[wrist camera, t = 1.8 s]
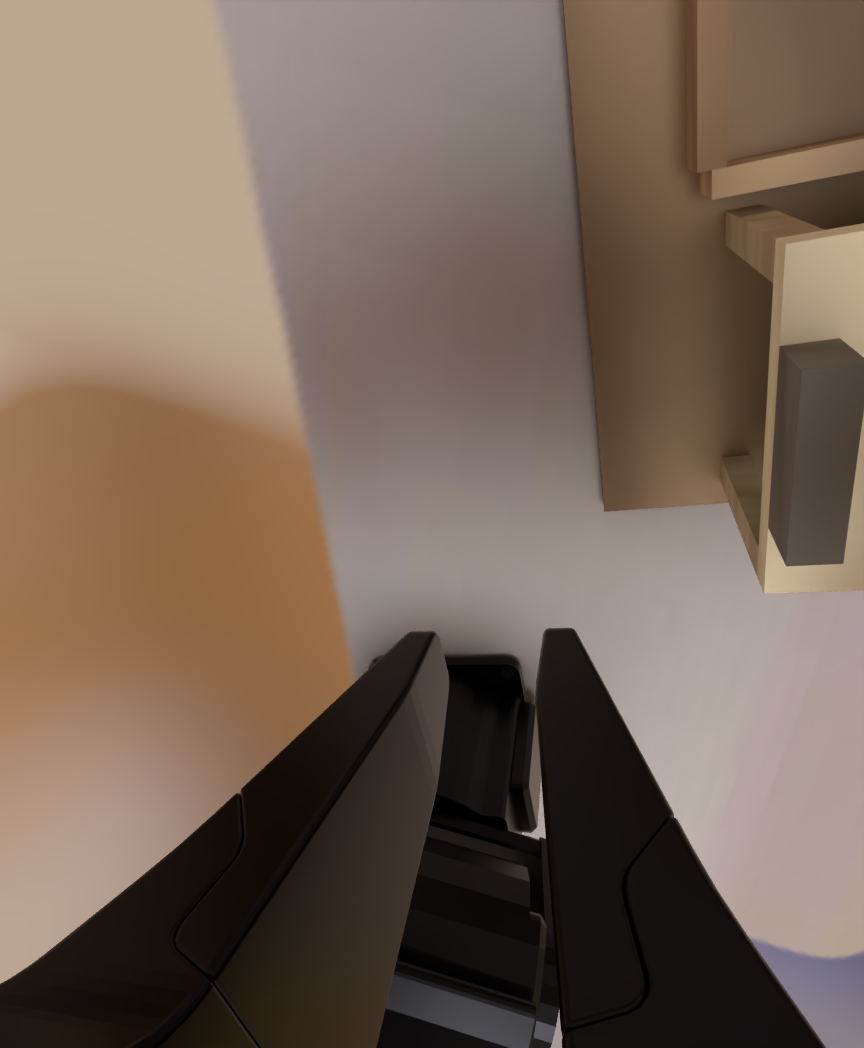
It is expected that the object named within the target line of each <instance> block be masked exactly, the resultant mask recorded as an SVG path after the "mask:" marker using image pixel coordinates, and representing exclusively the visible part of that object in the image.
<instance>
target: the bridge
mask: <svg viewBox="0 0 864 1048" xmlns="http://www.w3.org/2000/svg"><path fill="white" fill-rule="evenodd" d="M725 245H726V246H727V247H728V248H730V249H731V250H732V251H733V252H735V253H736V254H737V255H738V256H739V257H741V258H742V259H743V260H744V261H746V262H747V263H748V264H749V265H751V266H752V267H753V268H754V269H756V270H757V271H758V272H759V273H761V274H762V275H763V276H764V277H766V278H767V279H768V280H769V281H771V282H772V283H773V298H772V316H771V334H770V352H769V370H768V388H767V407H766V425H765V443H764V461H763V479H762V477H761V475H760V473H759V471H758V469H757V467H756V465H755V463H754V461H753V459H752V458H751V456H750V455H744V456H733V457H722V458H721V484H722V486H723V489H724V491H725V494H726V497H727V499H728V502H729V504H730V507H731V510H732V512H733V515H734V517H735V520H736V523H737V525H738V528H739V530H740V533H741V536H742V538H743V541H744V543H745V546H746V548H747V551H748V554H749V556H750V559H751V561H752V564H753V567H754V569H755V572H756V574H757V577H758V580H759V582H760V585H761V587H762V590H763V593H764V594H767V593H795V592H823V591H851V590H864V223H862V224H856V225H851V226H845V227H839V228H833V229H828V230H824V229H821V228H819V227H816V226H814V225H811V224H809V223H806V222H804V221H802V220H799V219H797V218H794V217H792V216H789V215H787V214H784V213H782V212H779V211H777V210H774V209H772V208H769V207H767V206H765V205H762V204H760V205H754V206H749V207H744V208H738V209H733V210H728V211H726V231H725Z"/></svg>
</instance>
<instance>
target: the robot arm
mask: <svg viewBox="0 0 864 1048" xmlns="http://www.w3.org/2000/svg"><path fill="white" fill-rule="evenodd" d="M504 669H510V670H511V671H505V670H504ZM535 700H536V706H535V705H534V704H533V703H532V702H527V700H526V694H525V688H524V683H523V677H522V672H521V666H520V664H519V663H518V662H517V661H516V660H515V659H512V658H507V657H499V658H444V654H443V650H442V646H441V642H440V638H439V636H438V634H437V633H435V632H434V631H413V632H409V633H408V634H406V635H405V636H404V637H403V638H402V639H401V640H400V641H399V642H398V643H397V644H396V645H394V646H393V647H392V648H391V649H390V650H389V651H388V652H387V653H386V654H385V655H384V656H383V657H382V658H381V659H375V660H373V661H372V662H371V664H370V667H369V669H368V671H367V672H366V673H365V674H363V675H362V676H361V677H360V678H359V679H358V680H357V681H356V682H355V683H354V684H353V685H352V686H351V687H350V688H348V689H347V690H346V691H345V692H344V693H343V694H342V695H341V696H340V697H339V698H338V699H337V700H336V701H335V702H334V703H333V704H331V705H330V706H329V707H328V708H327V709H326V710H325V711H324V712H323V713H322V714H321V715H320V716H319V717H318V718H316V720H314V721H313V722H312V723H311V724H310V725H309V726H308V727H307V728H306V729H305V730H304V731H303V732H301V733H300V734H299V735H298V736H297V737H296V738H295V739H294V740H293V741H292V742H291V743H290V744H289V745H288V746H287V747H285V749H283V750H282V751H281V752H280V753H279V754H278V755H277V756H276V757H275V758H274V759H273V760H272V761H270V762H269V763H268V764H267V765H266V766H265V767H264V768H263V769H262V770H261V771H260V772H259V773H258V774H257V775H255V776H254V777H253V778H252V779H251V780H250V781H249V782H248V783H247V784H246V785H245V786H244V787H243V788H242V789H241V794H239V793H237V794H235V795H234V796H233V797H232V798H231V799H230V800H228V801H227V802H226V803H225V804H224V805H223V806H222V807H221V808H220V809H219V810H218V811H217V812H216V813H215V814H213V815H212V816H211V817H210V818H209V819H208V820H207V821H206V822H205V823H203V824H202V825H201V826H200V827H199V828H198V829H197V830H196V831H195V832H193V833H192V834H191V835H190V836H189V837H188V838H187V839H186V840H184V841H183V842H182V843H181V844H180V845H179V846H178V847H176V848H175V849H174V850H173V851H172V852H170V853H169V854H168V855H167V856H166V857H164V858H163V859H162V860H161V861H160V862H158V863H157V864H156V865H155V866H154V867H152V868H151V869H150V870H149V871H148V872H146V873H145V874H144V875H143V876H142V877H140V878H139V879H138V880H137V881H135V882H134V883H133V884H132V885H130V886H129V887H128V888H127V889H125V890H124V891H123V892H122V893H121V894H119V895H118V896H117V897H115V898H114V899H113V900H112V901H110V902H109V903H108V904H107V905H105V906H104V907H103V908H102V909H100V910H99V911H98V912H97V913H96V914H94V915H93V916H92V917H91V918H89V919H88V920H87V921H86V922H84V923H83V924H82V925H81V926H79V927H78V928H77V929H76V930H74V931H73V932H72V933H71V934H70V935H68V936H67V937H66V938H64V939H63V940H62V941H61V942H59V943H58V944H57V945H56V946H54V947H53V948H52V949H51V950H49V951H48V952H47V953H46V954H45V955H43V956H42V957H41V958H39V959H38V960H37V961H35V962H34V963H32V964H31V965H30V966H28V967H27V968H25V969H24V970H22V971H21V972H19V973H18V974H16V975H15V976H13V977H12V978H10V979H8V980H7V981H5V982H3V983H1V984H0V1048H550V1047H551V1044H552V1041H553V1037H554V1032H555V1028H556V1023H557V1017H558V1012H559V1010H560V1023H561V1031H562V1036H563V1039H562V1048H826V1047H825V1045H824V1044H823V1043H822V1041H821V1040H820V1038H819V1037H818V1035H817V1034H816V1033H815V1031H814V1030H813V1028H812V1027H811V1025H810V1024H809V1023H808V1021H807V1020H806V1018H805V1017H804V1016H803V1014H802V1013H801V1011H800V1010H799V1008H798V1007H797V1006H796V1004H795V1003H794V1001H793V1000H792V999H791V997H790V996H789V994H788V993H787V991H786V990H785V989H784V987H783V986H782V984H781V983H780V981H779V980H778V979H777V977H776V976H775V975H774V973H773V972H772V970H771V969H770V967H769V966H768V964H767V963H766V962H765V960H764V959H763V958H762V956H761V955H760V953H759V952H758V950H757V949H756V947H755V946H754V945H753V943H752V942H751V940H750V939H749V937H748V936H747V934H746V933H745V931H744V930H743V928H742V927H741V925H740V924H739V922H738V921H737V919H736V918H735V916H734V915H733V913H732V912H731V910H730V909H729V907H728V906H727V904H726V903H725V901H724V900H723V898H722V897H721V895H720V893H719V892H718V890H717V889H716V887H715V885H714V884H713V882H712V880H711V878H710V877H709V875H708V873H707V872H706V870H705V868H704V866H703V865H702V863H701V861H700V860H699V858H698V856H697V854H696V853H695V851H694V849H693V848H692V846H691V844H690V842H689V840H688V838H687V836H686V835H685V833H684V831H683V829H682V827H681V825H680V823H679V822H678V820H677V819H676V818H674V814H673V811H672V809H671V807H670V806H669V804H668V802H667V800H666V798H665V796H664V794H663V793H662V791H661V789H660V787H659V785H658V783H657V781H656V780H655V778H654V776H653V774H652V772H651V770H650V768H649V767H648V765H647V763H646V761H645V759H644V757H643V755H642V754H641V752H640V750H639V748H638V746H637V744H636V742H635V741H634V739H633V737H632V735H631V733H630V731H629V729H628V728H627V726H626V724H625V722H624V720H623V718H622V716H621V714H620V713H619V711H618V709H617V707H616V705H615V703H614V701H613V700H612V698H611V696H610V694H609V692H608V690H607V688H606V687H605V685H604V683H603V681H602V679H601V677H600V675H599V674H598V672H597V670H596V668H595V666H594V664H593V662H592V661H591V659H590V657H589V655H588V653H587V651H586V649H585V648H584V646H583V644H582V642H581V640H580V638H579V636H578V635H577V633H576V631H575V630H574V629H572V628H548V629H546V630H545V631H544V634H543V640H542V647H541V653H540V660H539V667H538V673H537V680H536V690H535ZM541 779H542V792H543V805H544V818H545V830H546V839H545V838H541V837H540V839H535V838H532V837H528V836H525V835H521V833H522V832H529V833H532V832H533V831H534V830H535V829H536V828H537V822H538V808H539V794H540V780H541Z"/></svg>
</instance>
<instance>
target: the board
mask: <svg viewBox="0 0 864 1048" xmlns="http://www.w3.org/2000/svg"><path fill="white" fill-rule="evenodd" d="M563 6H564V18H565V30H566V43H567V55H568V68H569V80H570V92H571V105H572V117H573V129H574V142H575V154H576V167H577V179H578V191H579V204H580V216H581V228H582V241H583V253H584V265H585V278H586V290H587V303H588V315H589V327H590V340H591V352H592V364H593V377H594V389H595V401H596V414H597V426H598V439H599V451H600V463H601V476H602V488H603V500H604V512H605V511H619V510H633V509H646V508H660V507H674V506H688V505H701V504H715V503H729V502H728V499H727V497H726V494H725V491H724V489H723V486H722V484H721V458H722V457H733V456H744V455H750V456H751V458H752V459H753V461H754V463H755V465H756V467H757V469H758V471H759V473H760V475H761V477H762V479H763V461H764V443H765V425H766V407H767V388H768V370H769V352H770V334H771V316H772V298H773V283H772V282H771V281H769V280H768V279H767V278H766V277H764V276H763V275H762V274H761V273H759V272H758V271H757V270H756V269H754V268H753V267H752V266H751V265H749V264H748V263H747V262H746V261H744V260H743V259H742V258H741V257H739V256H738V255H737V254H736V253H735V252H733V251H732V250H731V249H730V248H728V247H727V246H726V245H725V231H726V211H728V210H733V209H738V208H744V207H749V206H754V205H760V204H762V205H765V206H767V207H769V208H772V209H774V210H777V211H779V212H782V213H784V214H787V215H789V216H792V217H794V218H797V219H799V220H802V221H804V222H806V223H809V224H811V225H814V226H816V227H819V228H821V229H824V230H828V229H833V228H839V227H845V226H851V225H856V224H862V223H864V0H563Z"/></svg>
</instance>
